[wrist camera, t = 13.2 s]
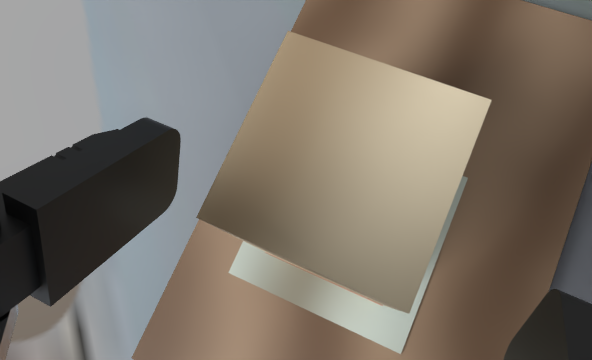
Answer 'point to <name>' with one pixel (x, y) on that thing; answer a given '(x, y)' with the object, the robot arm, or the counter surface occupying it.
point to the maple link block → (347, 169)
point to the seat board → (461, 217)
